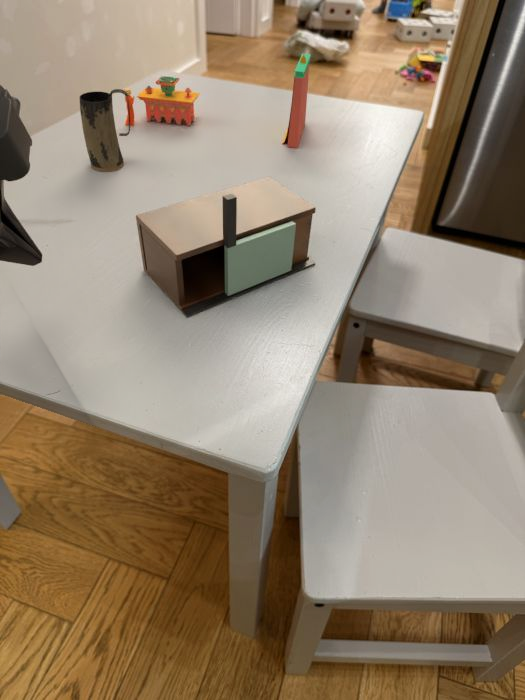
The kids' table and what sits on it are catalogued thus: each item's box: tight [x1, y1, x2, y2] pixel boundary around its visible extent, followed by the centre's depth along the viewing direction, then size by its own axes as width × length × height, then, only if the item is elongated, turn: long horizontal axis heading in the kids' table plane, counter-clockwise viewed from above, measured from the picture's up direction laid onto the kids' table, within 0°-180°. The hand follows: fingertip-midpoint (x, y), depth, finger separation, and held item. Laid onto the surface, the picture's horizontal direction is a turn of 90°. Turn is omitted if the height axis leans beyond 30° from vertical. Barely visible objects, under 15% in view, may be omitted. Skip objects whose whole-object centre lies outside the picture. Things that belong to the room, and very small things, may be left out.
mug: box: [79, 88, 131, 173], centre depth 82 cm, size 8×6×12 cm
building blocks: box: [123, 53, 312, 149], centre depth 96 cm, size 12×35×14 cm, turn 80°
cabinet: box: [135, 176, 316, 318], centre depth 64 cm, size 20×11×8 cm, turn 126°
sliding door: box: [223, 194, 296, 296], centre depth 59 cm, size 10×1×13 cm, turn 126°
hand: (38, 260), depth 44 cm, fingers closed
